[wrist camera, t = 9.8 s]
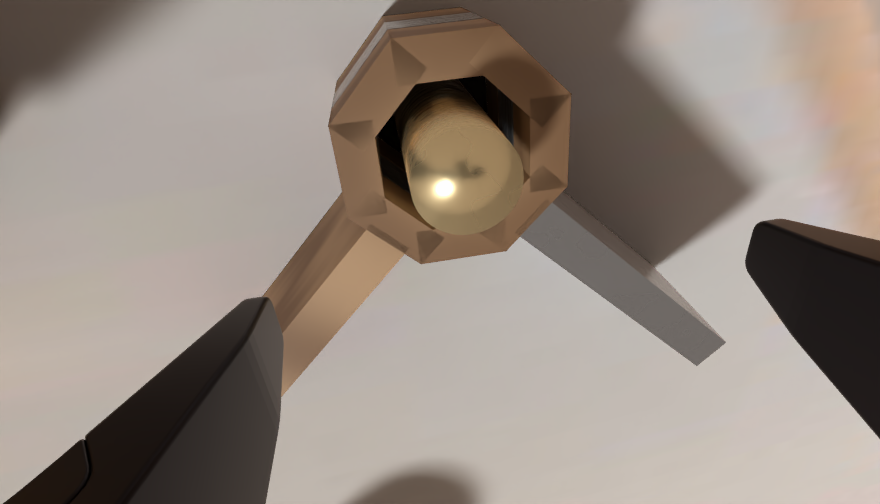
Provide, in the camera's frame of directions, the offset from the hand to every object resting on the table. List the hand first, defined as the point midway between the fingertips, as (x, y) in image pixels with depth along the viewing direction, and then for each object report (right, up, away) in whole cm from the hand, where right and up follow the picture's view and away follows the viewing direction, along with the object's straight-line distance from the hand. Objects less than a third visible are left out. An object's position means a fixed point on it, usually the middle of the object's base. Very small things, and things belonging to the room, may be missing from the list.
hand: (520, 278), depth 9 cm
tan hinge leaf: (-5, +2, +12) cm, 14 cm away
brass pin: (-2, +6, +11) cm, 13 cm away
